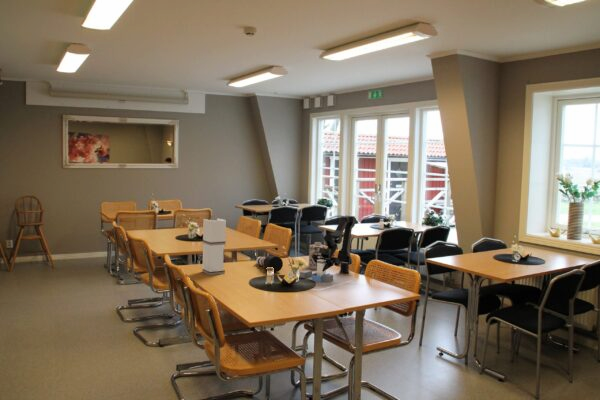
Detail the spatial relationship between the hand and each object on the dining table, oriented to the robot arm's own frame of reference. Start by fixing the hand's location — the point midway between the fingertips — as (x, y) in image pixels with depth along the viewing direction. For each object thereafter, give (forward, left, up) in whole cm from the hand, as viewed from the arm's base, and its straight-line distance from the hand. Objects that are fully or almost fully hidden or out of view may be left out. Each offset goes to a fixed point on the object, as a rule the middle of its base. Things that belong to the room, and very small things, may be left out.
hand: (320, 270), depth 319 cm
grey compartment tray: (-3, -2, -7) cm, 8 cm away
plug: (-1, +1, -6) cm, 6 cm away
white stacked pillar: (-8, -71, -7) cm, 71 cm away
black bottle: (-32, -40, -7) cm, 52 cm away
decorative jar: (-44, -6, -7) cm, 45 cm away
